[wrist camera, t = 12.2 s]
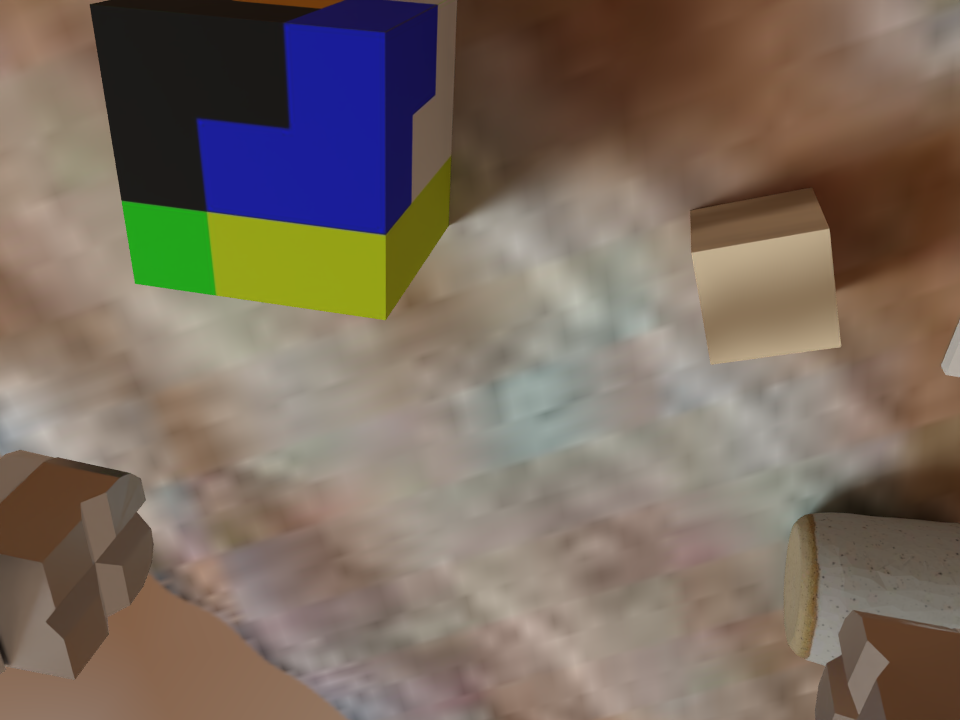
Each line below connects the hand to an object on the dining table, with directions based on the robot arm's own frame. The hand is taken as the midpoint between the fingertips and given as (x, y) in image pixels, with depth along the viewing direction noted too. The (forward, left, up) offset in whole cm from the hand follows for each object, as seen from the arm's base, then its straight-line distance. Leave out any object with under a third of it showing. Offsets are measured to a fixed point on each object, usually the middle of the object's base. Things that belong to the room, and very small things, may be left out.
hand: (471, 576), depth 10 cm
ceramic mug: (+23, +17, -30) cm, 41 cm away
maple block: (+7, +7, -30) cm, 31 cm away
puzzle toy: (+3, -12, -30) cm, 32 cm away
